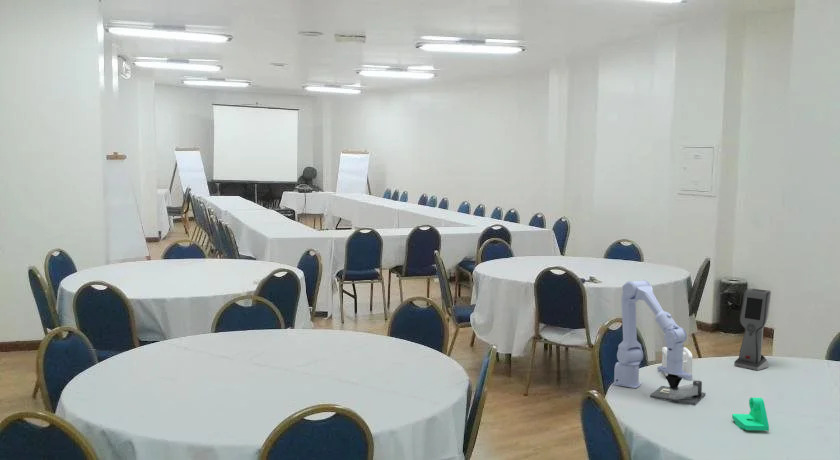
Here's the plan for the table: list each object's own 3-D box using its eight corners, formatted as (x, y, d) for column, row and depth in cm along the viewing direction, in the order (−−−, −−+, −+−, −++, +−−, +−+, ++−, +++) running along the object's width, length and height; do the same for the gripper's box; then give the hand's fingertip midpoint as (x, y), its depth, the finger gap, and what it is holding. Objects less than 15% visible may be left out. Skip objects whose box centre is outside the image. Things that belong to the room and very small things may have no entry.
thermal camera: (772, 366, 315) (774, 290, 313) (758, 371, 307) (760, 293, 305) (747, 361, 324) (749, 287, 322) (732, 365, 317) (735, 290, 314)
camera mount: (731, 421, 243) (732, 392, 242) (753, 421, 242) (754, 392, 241) (745, 433, 231) (746, 403, 230) (768, 433, 230) (769, 403, 229)
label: (659, 392, 273) (659, 391, 273) (663, 389, 277) (663, 388, 277) (672, 394, 270) (672, 393, 270) (676, 391, 274) (676, 390, 274)
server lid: (649, 397, 269) (649, 395, 269) (661, 387, 282) (661, 385, 282) (695, 405, 259) (695, 403, 259) (705, 394, 272) (705, 392, 272)
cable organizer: (692, 381, 291) (693, 354, 290) (666, 380, 293) (667, 353, 292) (685, 372, 306) (685, 346, 305) (660, 371, 308) (661, 345, 307)
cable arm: (696, 393, 272) (696, 380, 271) (703, 395, 269) (703, 382, 268) (668, 399, 264) (669, 385, 264) (675, 401, 261) (676, 387, 261)
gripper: (697, 362, 261) (696, 397, 262) (666, 354, 274) (665, 387, 274) (685, 364, 257) (684, 400, 258) (654, 356, 270) (653, 390, 271)
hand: (673, 394), depth 266 cm, fingers closed
